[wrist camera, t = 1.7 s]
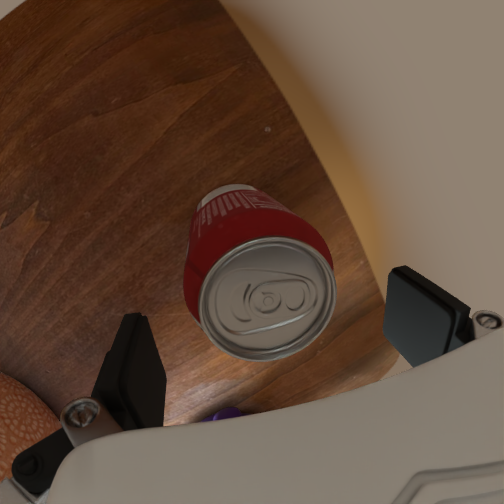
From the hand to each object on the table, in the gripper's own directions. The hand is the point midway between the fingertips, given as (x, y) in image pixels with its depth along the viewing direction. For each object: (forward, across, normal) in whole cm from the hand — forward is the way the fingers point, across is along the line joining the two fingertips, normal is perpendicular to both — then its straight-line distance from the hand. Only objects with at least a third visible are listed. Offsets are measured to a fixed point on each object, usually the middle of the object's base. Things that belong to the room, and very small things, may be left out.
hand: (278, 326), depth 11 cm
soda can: (+13, 0, 0) cm, 13 cm away
